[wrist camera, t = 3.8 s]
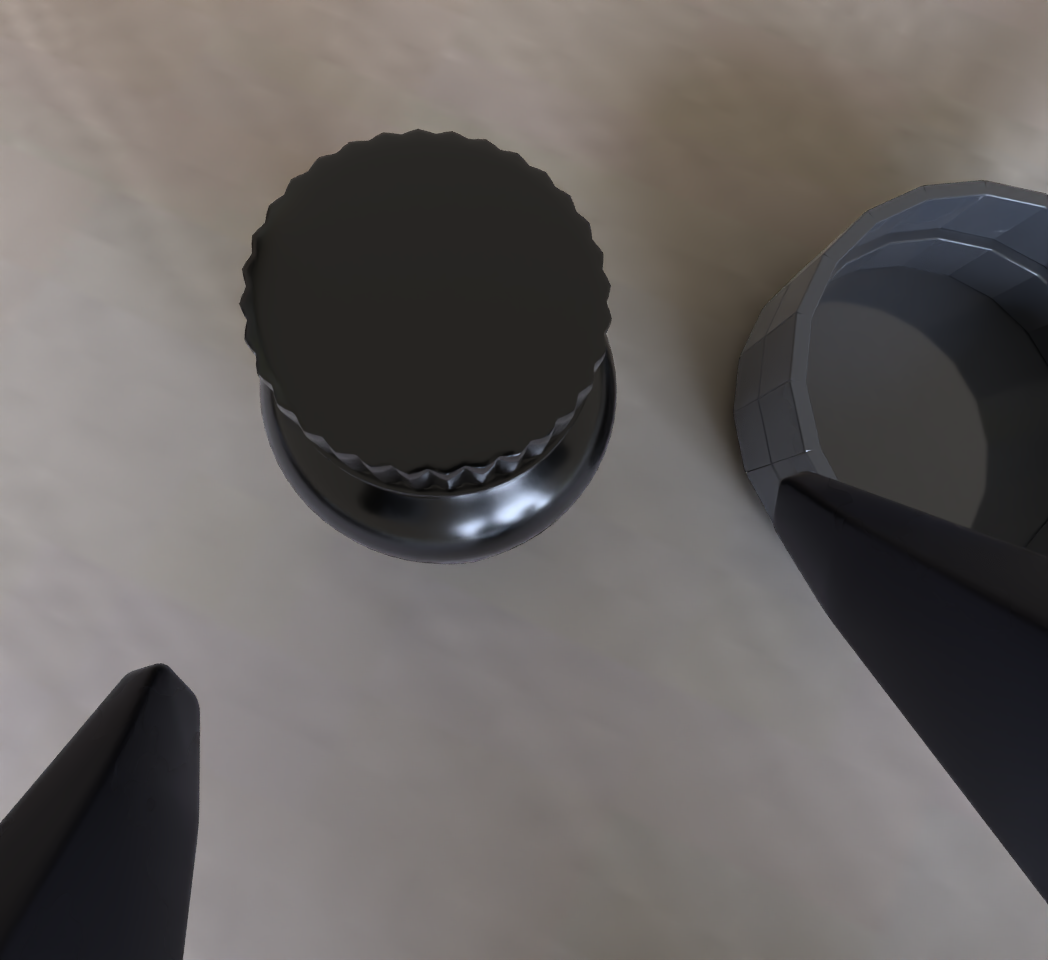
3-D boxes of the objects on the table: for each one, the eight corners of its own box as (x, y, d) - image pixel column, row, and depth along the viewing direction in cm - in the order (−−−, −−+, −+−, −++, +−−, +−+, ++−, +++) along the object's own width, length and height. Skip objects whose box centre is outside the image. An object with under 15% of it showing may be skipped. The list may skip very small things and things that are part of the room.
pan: (925, 689, 19) (1048, 724, 15) (652, 415, 20) (698, 377, 16) (1135, 430, 21) (1294, 398, 17) (881, 189, 22) (976, 102, 18)
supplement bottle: (461, 608, 18) (431, 693, 6) (307, 467, 19) (8, 299, 7) (599, 455, 19) (787, 288, 8) (452, 323, 20) (413, -38, 8)
